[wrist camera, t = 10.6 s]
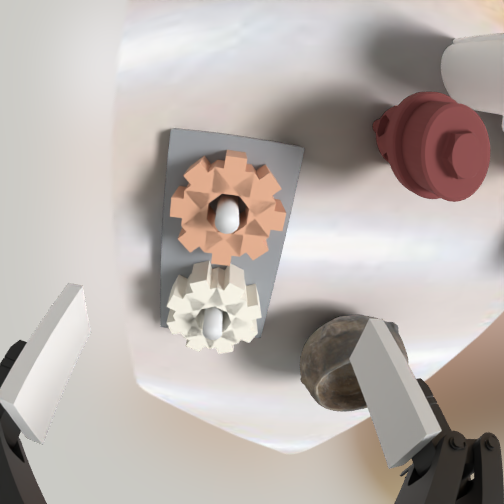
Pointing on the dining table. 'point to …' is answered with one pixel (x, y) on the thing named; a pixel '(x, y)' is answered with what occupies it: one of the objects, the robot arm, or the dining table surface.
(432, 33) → the dining table surface
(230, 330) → the gear
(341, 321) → the bowl
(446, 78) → the white joined open cylinders
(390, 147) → the mechanical component
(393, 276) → the dining table surface
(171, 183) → the gear board
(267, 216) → the gear
